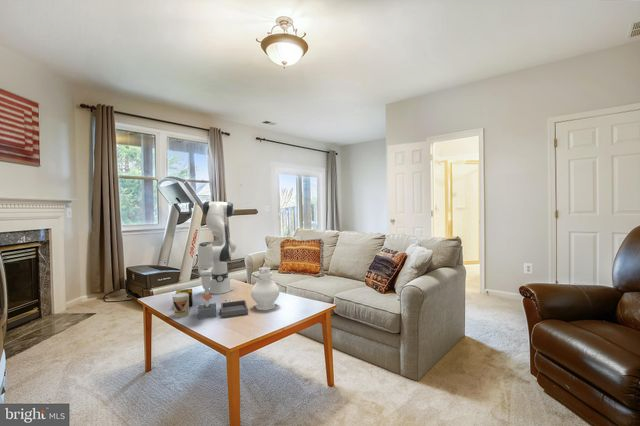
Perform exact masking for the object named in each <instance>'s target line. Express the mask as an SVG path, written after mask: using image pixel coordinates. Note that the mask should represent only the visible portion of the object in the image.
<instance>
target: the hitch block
mask: <svg viewBox="0 0 640 426" xmlns="http://www.w3.org/2000/svg"><path fill="white" fill-rule="evenodd" d="M216 317H217V303H216V302H213V303H209V307H207V308H205V304H199V305H198V308H197V319H198V320H201V319H209V318H216Z"/></svg>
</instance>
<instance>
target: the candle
mask: <svg viewBox="0 0 640 426" xmlns="http://www.w3.org/2000/svg"><path fill="white" fill-rule="evenodd" d="M179 293H188V294H189V308H192V307H193V304H194V302H193V301H194V300H193V288H184V289H183V288H182V289H176V292H175V294H179ZM175 294H174V295H175Z"/></svg>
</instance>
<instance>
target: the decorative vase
mask: <svg viewBox="0 0 640 426" xmlns="http://www.w3.org/2000/svg"><path fill="white" fill-rule="evenodd" d="M256 275H257V277H258V278H259V279H258V280H257V281H256V283H255V284H254V285H253V286H252V289H251V292H250V296H251V299H252V300H253V301H254V302H255V303H256V305H255V309H256V310H258V311H259V310H260V311H268V310H273V309H275V308H276V304H275V302H276V301H277V299H278V298H279V296H280V287H279V286H278V285H277V283H276V282H275V281H274V280H273V279H272V278H271V277H272V276H273V272H272V271H271V267H270V266H261V267H259V268H258V272H257V274H256Z"/></svg>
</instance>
